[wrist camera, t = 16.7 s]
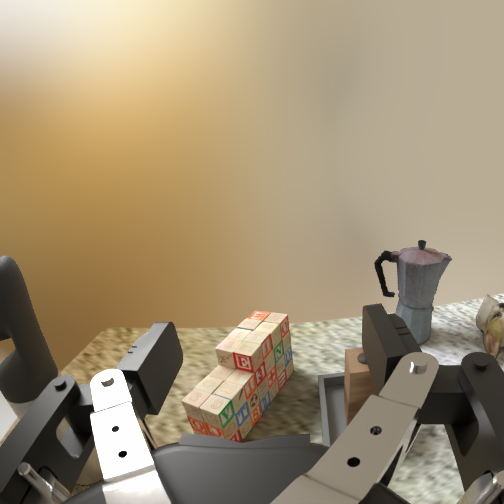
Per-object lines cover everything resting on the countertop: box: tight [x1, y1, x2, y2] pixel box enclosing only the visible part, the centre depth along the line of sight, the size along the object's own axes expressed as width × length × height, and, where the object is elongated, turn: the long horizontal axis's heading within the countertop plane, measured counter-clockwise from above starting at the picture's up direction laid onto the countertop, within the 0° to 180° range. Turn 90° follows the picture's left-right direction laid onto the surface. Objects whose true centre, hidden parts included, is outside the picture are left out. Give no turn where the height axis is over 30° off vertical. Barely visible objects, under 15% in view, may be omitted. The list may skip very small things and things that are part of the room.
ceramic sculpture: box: [476, 294, 504, 360], centre depth 43 cm, size 11×9×15 cm
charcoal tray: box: [318, 372, 414, 450], centre depth 38 cm, size 12×16×3 cm
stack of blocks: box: [182, 311, 294, 442], centre depth 45 cm, size 21×6×12 cm, turn 150°
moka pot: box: [374, 240, 452, 345], centre depth 53 cm, size 10×15×20 cm, turn 73°
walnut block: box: [344, 347, 377, 427], centre depth 37 cm, size 5×5×11 cm
